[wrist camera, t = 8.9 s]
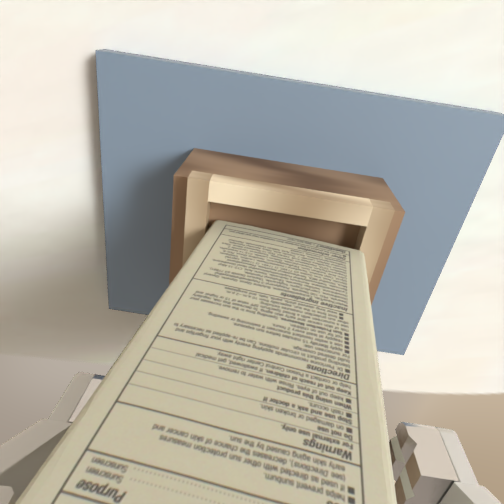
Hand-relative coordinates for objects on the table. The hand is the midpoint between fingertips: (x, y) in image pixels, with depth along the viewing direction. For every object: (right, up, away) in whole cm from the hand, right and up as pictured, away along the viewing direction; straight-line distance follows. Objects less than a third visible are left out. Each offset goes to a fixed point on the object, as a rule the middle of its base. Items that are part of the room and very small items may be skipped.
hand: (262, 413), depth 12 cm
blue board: (+1, +6, +10) cm, 12 cm away
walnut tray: (+1, +5, +9) cm, 11 cm away
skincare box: (+1, +4, +5) cm, 6 cm away
